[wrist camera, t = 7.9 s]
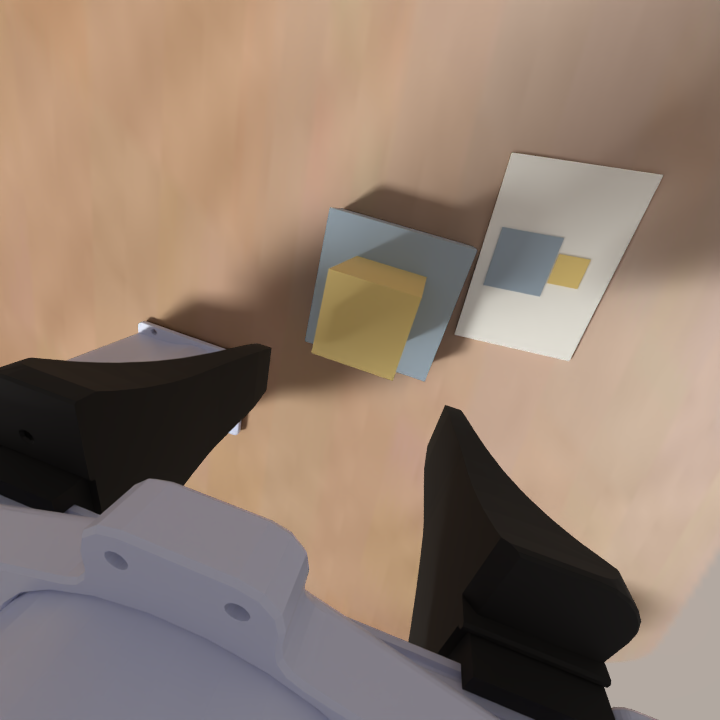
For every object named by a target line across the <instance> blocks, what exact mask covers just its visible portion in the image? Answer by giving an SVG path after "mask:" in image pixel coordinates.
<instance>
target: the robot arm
mask: <svg viewBox="0 0 720 720" xmlns="http://www.w3.org/2000/svg"><path fill="white" fill-rule="evenodd" d="M155 330H156V331H157V332H156V331H155ZM138 331H139V333H137V334H135V335H132V336H129V337H127V338H124V339H122V340H119V341H116V342H114V343H111V344H108V345H106V346H103V347H101V348H98V349H95V350H93V351H90V352H87V353H85V354H82V355H79V356H77V357H74V358H72V359H69V360H67V361H64V360H51V359H40V358H27V359H24V360H21V361H18V362H15V363H12V364H9V365H6V366H3V367H0V720H657V719H655V718H652V717H649V716H647V715H645V714H642V713H640V712H637V711H635V710H632V709H628V708H624V707H613V708H611V706H610V703H609V700H608V697H607V694H606V692H605V689H604V687H609V686H610V685H611V679H610V676H609V674H608V671H607V668H606V665H605V663H604V662H605V661H606V660H607V659H609V658H610V657H611V656H613V655H614V654H615V653H616V652H618V651H619V650H620V649H622V648H623V647H624V646H625V645H627V644H628V643H629V642H630V641H631V640H632V639H633V638H634V637H635V635H636V634H637V633H638V630H639V627H640V623H641V619H640V614H639V610H638V608H637V606H636V604H635V602H634V600H633V598H632V596H631V594H630V592H629V590H628V588H627V586H626V585H625V583H624V581H623V579H622V577H621V575H620V573H619V571H618V570H617V569H616V568H615V567H613V566H612V565H610V564H609V563H608V562H606V561H605V560H604V559H602V558H601V557H599V556H598V555H597V554H595V553H594V552H593V551H591V550H590V549H588V548H587V547H586V546H584V545H583V544H582V543H580V542H579V541H578V540H576V539H575V538H574V537H573V536H571V535H570V534H569V533H568V532H567V531H565V530H564V529H563V528H562V527H560V526H559V525H558V524H557V523H556V522H554V521H553V520H552V519H551V518H550V517H549V516H548V515H546V514H545V513H544V512H543V511H542V510H541V509H540V508H539V507H538V506H537V505H536V504H535V503H534V502H532V501H531V500H530V499H529V498H528V497H527V496H526V495H525V494H524V493H523V492H522V491H521V490H520V489H519V488H518V486H517V485H516V484H515V483H514V482H513V481H512V480H511V479H510V478H509V477H508V475H507V474H506V473H505V472H504V471H503V470H502V468H501V467H500V466H499V465H498V463H497V462H496V461H495V459H494V458H493V457H492V456H491V454H490V453H489V451H488V450H487V449H486V447H485V446H484V444H483V443H482V441H481V440H480V439H479V437H478V435H477V434H476V432H475V431H474V429H473V428H472V426H471V425H470V423H469V421H468V420H467V418H466V417H465V415H464V414H463V412H462V411H461V410H459V409H456V408H453V407H450V406H446V405H445V407H444V409H443V412H442V414H441V416H440V418H439V421H438V423H437V425H436V428H435V430H434V432H433V434H432V437H431V439H430V441H429V444H428V447H427V453H426V460H425V467H424V528H423V540H422V548H421V557H420V565H419V573H418V581H417V588H416V595H415V602H414V609H413V616H412V623H411V629H410V635H409V641H408V642H407V641H404V640H402V639H400V638H397V637H395V636H392V635H390V634H387V633H385V632H383V631H380V630H378V629H375V628H373V627H370V626H368V625H366V624H363V623H361V622H358V621H356V620H353V619H351V618H349V617H346V616H344V615H343V614H341V613H340V612H338V611H337V610H335V609H334V608H332V607H331V606H329V605H328V604H326V603H324V602H323V601H321V600H320V599H318V598H317V597H315V596H314V595H312V594H311V593H309V592H308V591H306V590H305V583H306V579H307V576H308V572H309V565H308V557H307V552H306V550H305V548H304V547H303V546H302V545H301V543H300V542H299V541H298V540H297V538H296V537H295V536H294V535H293V533H292V532H291V531H289V530H287V529H285V528H284V527H282V526H280V525H279V524H277V523H275V522H274V521H272V520H270V519H267V518H265V517H262V516H259V515H257V514H254V513H252V512H249V511H247V510H244V509H241V508H239V507H236V506H234V505H231V504H229V503H226V502H223V501H221V500H218V499H216V498H213V497H211V496H208V495H206V494H203V493H200V492H198V491H195V490H193V489H190V488H188V487H185V486H184V484H185V483H186V482H187V480H188V479H189V478H190V477H191V475H192V474H193V473H194V471H195V470H196V469H197V468H198V466H199V465H200V464H201V463H202V461H203V460H204V459H205V458H206V456H207V455H208V454H209V453H210V452H211V451H212V449H213V448H214V447H215V446H216V445H217V444H218V443H219V442H220V441H221V440H222V439H223V438H224V437H225V436H226V435H227V434H228V433H230V434H233V435H237V434H238V433H239V432H240V430H241V420H242V419H243V418H244V417H245V416H246V415H247V414H248V413H249V412H250V411H251V410H252V409H253V408H254V406H255V405H256V404H257V402H258V401H259V400H260V398H261V397H262V395H263V394H264V393H265V391H266V388H267V380H268V372H269V363H270V355H271V348H270V347H267V346H264V345H261V344H250V345H244V346H239V347H235V348H230V349H224V348H221V347H219V346H216V345H213V344H210V343H207V342H204V341H201V340H199V339H196V338H193V337H190V336H187V335H184V334H181V333H178V332H176V331H173V330H170V329H167V328H164V327H161V326H158V325H156V324H153V323H150V322H147V321H143V322H140V323H139V324H138Z"/></svg>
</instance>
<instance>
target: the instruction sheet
mask: <svg viewBox="0 0 720 720" xmlns="http://www.w3.org/2000/svg"><path fill="white" fill-rule="evenodd" d="M662 177H663V175H661V174H654V173H647V172H641V171H634V170H627V169H620V168H614V167H607V166H600V165H593V164H587V163H580V162H573V161H566V160H560V159H553V158H546V157H540V156H533V155H526V154H519V153H513V152H512V153H511V156H510V159H509V162H508V166H507V169H506V172H505V175H504V178H503V181H502V185H501V188H500V191H499V194H498V197H497V200H496V204H495V207H494V210H493V213H492V216H491V220H490V223H489V226H488V229H487V232H486V235H485V239H484V242H483V245H482V248H481V251H480V254H479V258H478V261H477V264H476V267H475V270H474V274H473V277H472V280H471V283H470V286H469V289H468V293H467V296H466V299H465V302H464V305H463V308H462V312H461V315H460V318H459V321H458V324H457V327H456V331H455V335H458V336H462V337H466V338H471V339H475V340H479V341H484V342H488V343H492V344H497V345H501V346H505V347H510V348H514V349H519V350H523V351H527V352H532V353H536V354H540V355H545V356H549V357H553V358H558V359H562V360H566V361H570V359H571V357H572V355H573V353H574V351H575V349H576V347H577V345H578V343H579V341H580V339H581V337H582V335H583V333H584V331H585V329H586V327H587V325H588V323H589V321H590V319H591V317H592V315H593V313H594V311H595V309H596V307H597V306H598V304H599V302H600V300H601V298H602V296H603V294H604V292H605V290H606V288H607V286H608V284H609V282H610V280H611V278H612V276H613V274H614V272H615V270H616V268H617V266H618V264H619V262H620V260H621V258H622V256H623V254H624V252H625V250H626V248H627V246H628V244H629V242H630V240H631V238H632V236H633V234H634V232H635V230H636V228H637V227H638V225H639V223H640V221H641V219H642V217H643V215H644V213H645V211H646V209H647V207H648V205H649V203H650V201H651V199H652V197H653V195H654V193H655V191H656V189H657V187H658V185H659V183H660V181H661V179H662Z"/></svg>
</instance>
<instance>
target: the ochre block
mask: <svg viewBox="0 0 720 720" xmlns="http://www.w3.org/2000/svg"><path fill="white" fill-rule="evenodd" d="M426 279H427V277H425V276H421V275H418V274H415V273H412V272H408V271H405V270H402V269H399V268H395V267H392V266H389V265H386V264H382V263H379V262H376V261H373V260H369V259H366V258H363V257H359V256H356V257H353V258H351V259H349V260H347V261H344V262H342V263H340V264H338V265H336V266H333V267H331V268H329V269H328V274H327V279H326V284H325V289H324V294H323V299H322V303H321V308H320V313H319V318H318V323H317V328H316V333H315V338H314V342H313V347H312V352H311V353H313V354H316V355H319V356H322V357H325V358H328V359H330V360H333V361H336V362H339V363H342V364H345V365H348V366H351V367H354V368H357V369H360V370H362V371H365V372H368V373H371V374H374V375H377V376H380V377H383V378H386V379H389V380H392V381H393V378H394V375H395V373H396V370H397V367H398V364H399V361H400V358H401V356H402V353H403V350H404V347H405V344H406V341H407V338H408V336H409V333H410V330H411V327H412V324H413V321H414V319H415V316H416V313H417V310H418V307H419V304H420V301H421V299H422V295H423V291H424V287H425V283H426Z"/></svg>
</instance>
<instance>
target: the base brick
mask: <svg viewBox="0 0 720 720" xmlns="http://www.w3.org/2000/svg"><path fill="white" fill-rule="evenodd" d="M476 252H477V249H476V248H474V247H473V246H470V245H467V244H463V243H460V242H457V241H453V240H450V239H446V238H443V237H439V236H436V235H432V234H429V233H425V232H422V231H419V230H415V229H412V228H408V227H405V226H401V225H398V224H394V223H391V222H387V221H384V220H380V219H377V218H374V217H370V216H367V215H363V214H360V213H356V212H353V211H349V210H346V209H342V208H331V207H330V209H329V215H328V220H327V225H326V231H325V236H324V241H323V247H322V252H321V257H320V263H319V268H318V273H317V279H316V284H315V289H314V295H313V300H312V305H311V311H310V316H309V321H308V327H307V332H306V337H305V341H306V342H309V343H312V344H313V342H314V338H315V333H316V328H317V323H318V318H319V313H320V308H321V303H322V299H323V294H324V289H325V284H326V279H327V274H328V269H329V268H331V267H333V266H336V265H338V264H340V263H342V262H344V261H347V260H349V259H351V258H353V257H356V256H359V257H363V258H366V259H369V260H373V261H376V262H379V263H382V264H386V265H389V266H392V267H395V268H399V269H402V270H405V271H408V272H412V273H415V274H418V275H421V276H425V277H427V279H426V283H425V287H424V291H423V295H422V299H421V301H420V304H419V307H418V310H417V313H416V316H415V319H414V321H413V324H412V327H411V330H410V333H409V336H408V338H407V341H406V344H405V347H404V350H403V353H402V356H401V358H400V361H399V364H398V367H397V370H396V372H398V373H401V374H404V375H407V376H410V377H413V378H416V379H419V380H422V381H425V379H426V377H427V374H428V372H429V369H430V367H431V364H432V362H433V359H434V357H435V354H436V352H437V349H438V347H439V344H440V342H441V339H442V337H443V334H444V332H445V329H446V327H447V325H448V322H449V320H450V317H451V315H452V312H453V310H454V307H455V305H456V302H457V300H458V297H459V295H460V292H461V290H462V287H463V285H464V282H465V280H466V277H467V275H468V272H469V270H470V267H471V265H472V262H473V260H474V257H475V255H476Z"/></svg>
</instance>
